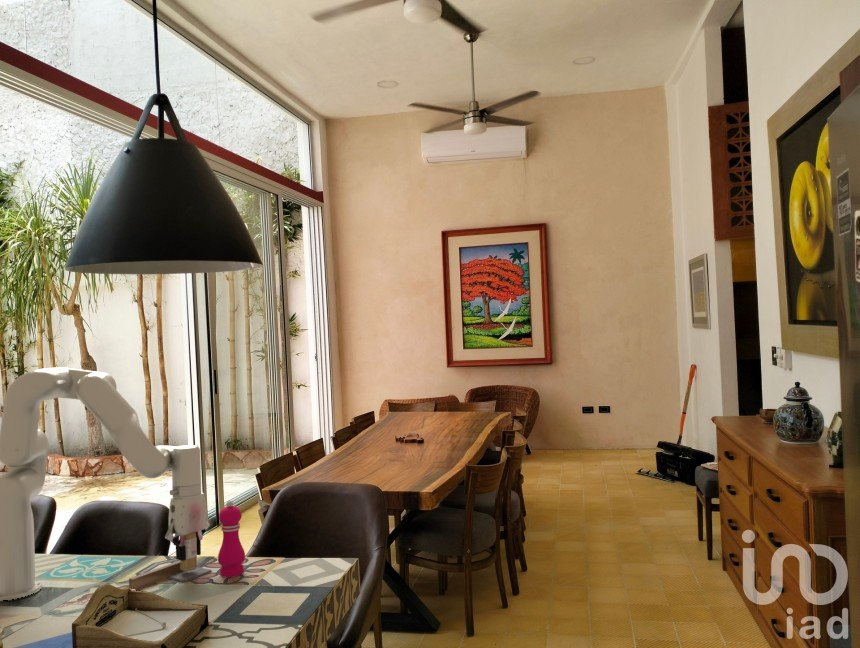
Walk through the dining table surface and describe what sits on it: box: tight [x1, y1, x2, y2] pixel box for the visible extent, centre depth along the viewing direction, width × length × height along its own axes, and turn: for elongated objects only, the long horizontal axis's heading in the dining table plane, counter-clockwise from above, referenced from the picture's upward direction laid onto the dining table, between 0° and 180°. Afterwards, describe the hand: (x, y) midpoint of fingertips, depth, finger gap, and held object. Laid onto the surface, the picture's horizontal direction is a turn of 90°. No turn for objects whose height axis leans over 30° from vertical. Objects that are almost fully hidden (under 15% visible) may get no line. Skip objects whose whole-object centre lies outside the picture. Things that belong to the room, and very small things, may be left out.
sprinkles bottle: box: [180, 532, 198, 571], centre depth 189 cm, size 5×5×13 cm
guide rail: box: [128, 560, 183, 590], centre depth 186 cm, size 2×17×3 cm, turn 149°
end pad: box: [167, 566, 212, 583], centre depth 189 cm, size 7×9×1 cm
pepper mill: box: [217, 500, 246, 578], centre depth 189 cm, size 7×7×20 cm
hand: (188, 556), depth 189 cm, fingers closed on sprinkles bottle, 4 cm apart
